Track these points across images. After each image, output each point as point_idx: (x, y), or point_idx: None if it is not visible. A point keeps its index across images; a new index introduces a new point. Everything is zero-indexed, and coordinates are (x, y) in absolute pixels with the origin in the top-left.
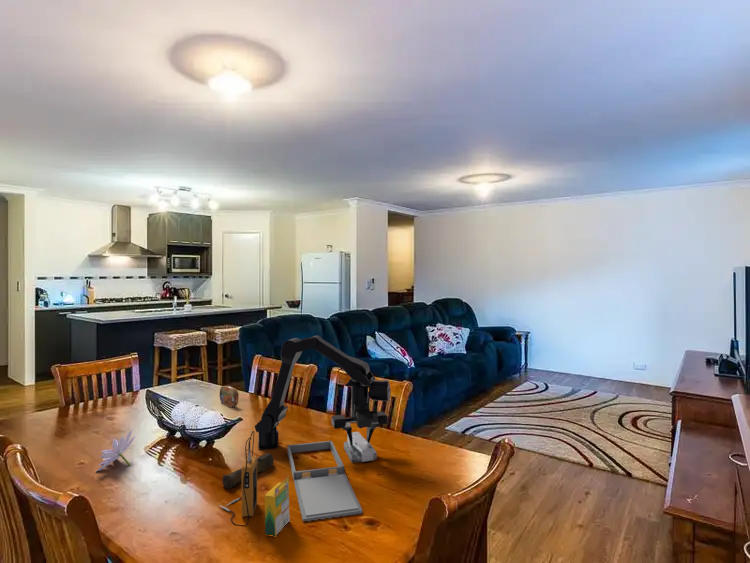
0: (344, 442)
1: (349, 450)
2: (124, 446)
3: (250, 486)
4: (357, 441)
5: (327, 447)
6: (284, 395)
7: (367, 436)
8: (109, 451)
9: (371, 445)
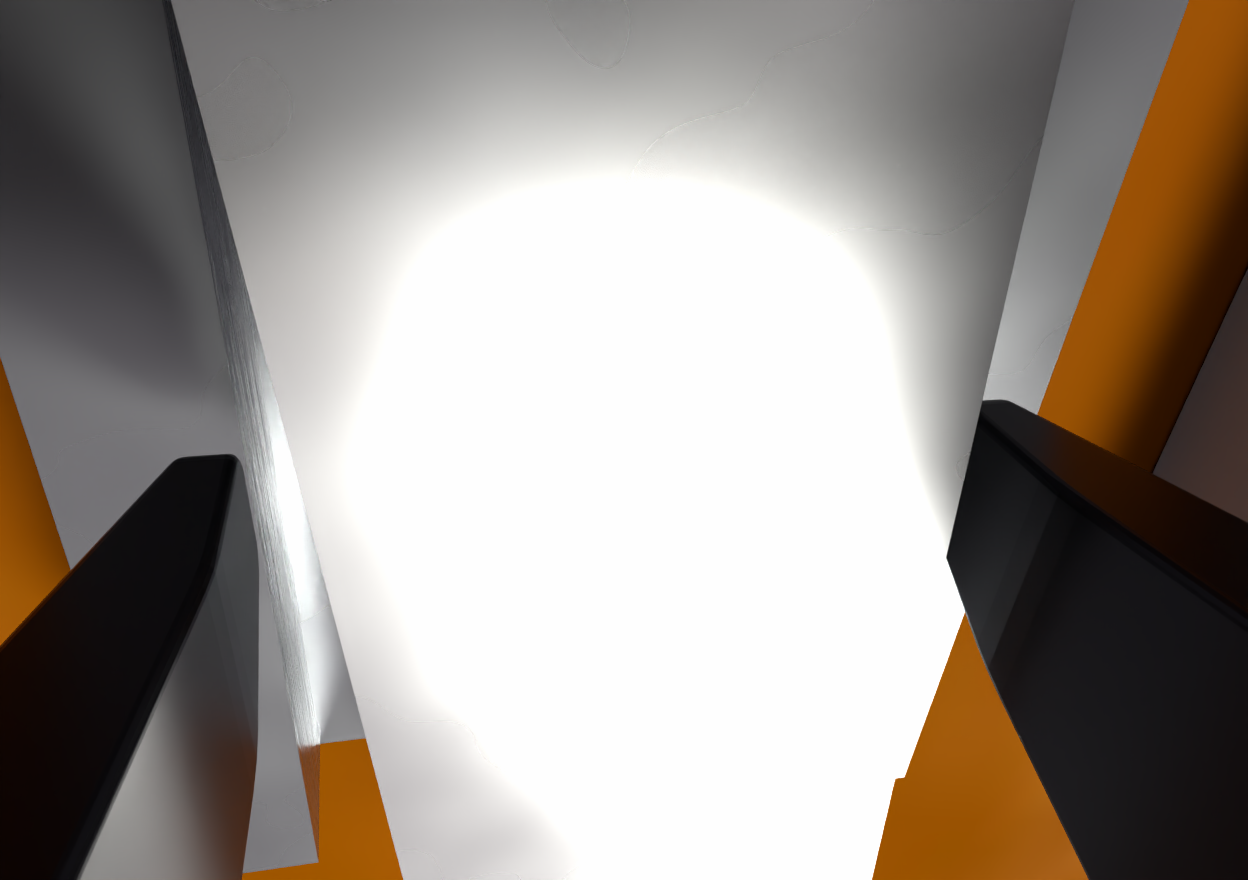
0: (910, 751)
1: (1098, 181)
2: None
3: None
4: (833, 493)
5: None
6: None
7: (204, 818)
8: None
9: (45, 481)
